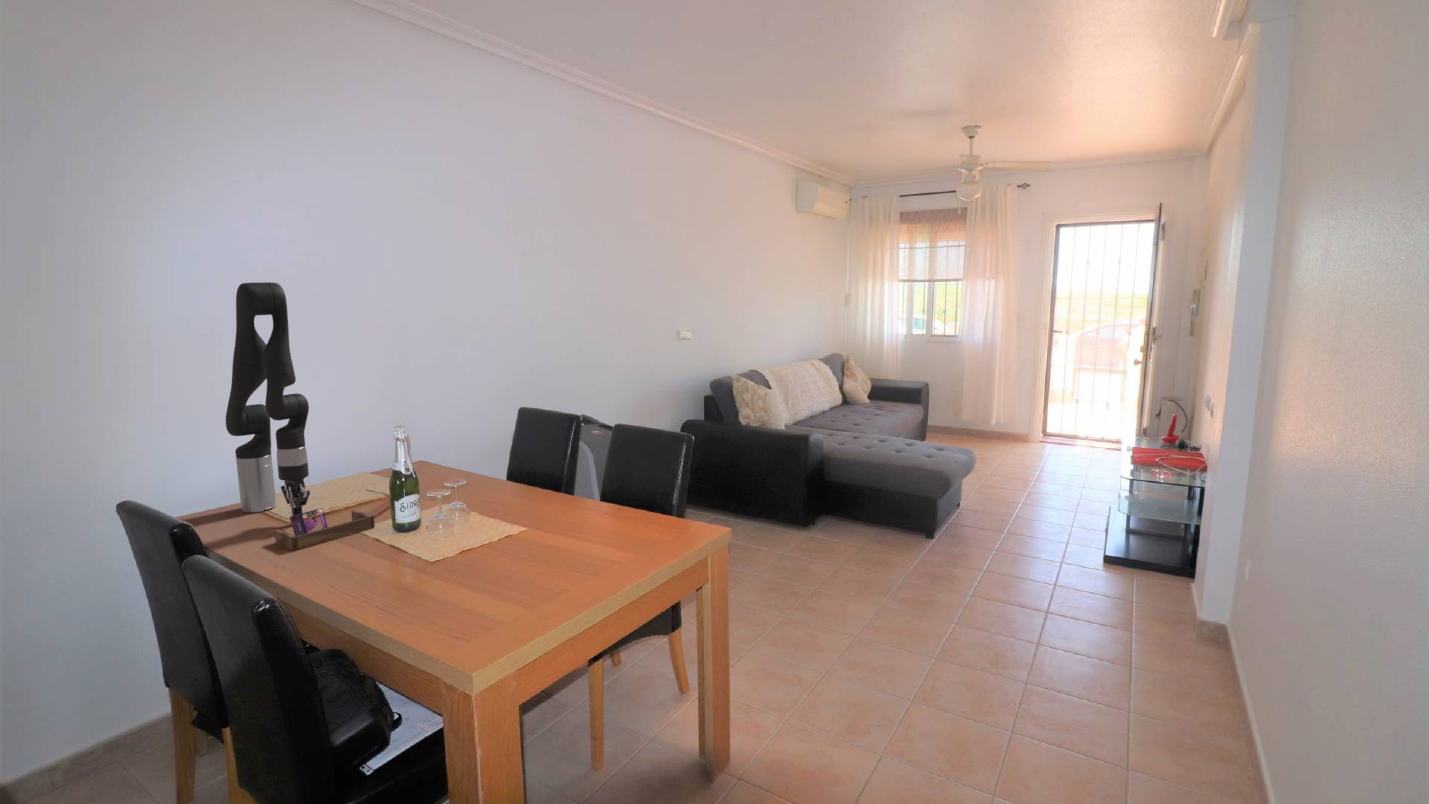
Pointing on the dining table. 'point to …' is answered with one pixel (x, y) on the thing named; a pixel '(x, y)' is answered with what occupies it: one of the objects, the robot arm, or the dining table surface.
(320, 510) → the purple printed carton
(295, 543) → the tray
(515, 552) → the dining table surface
